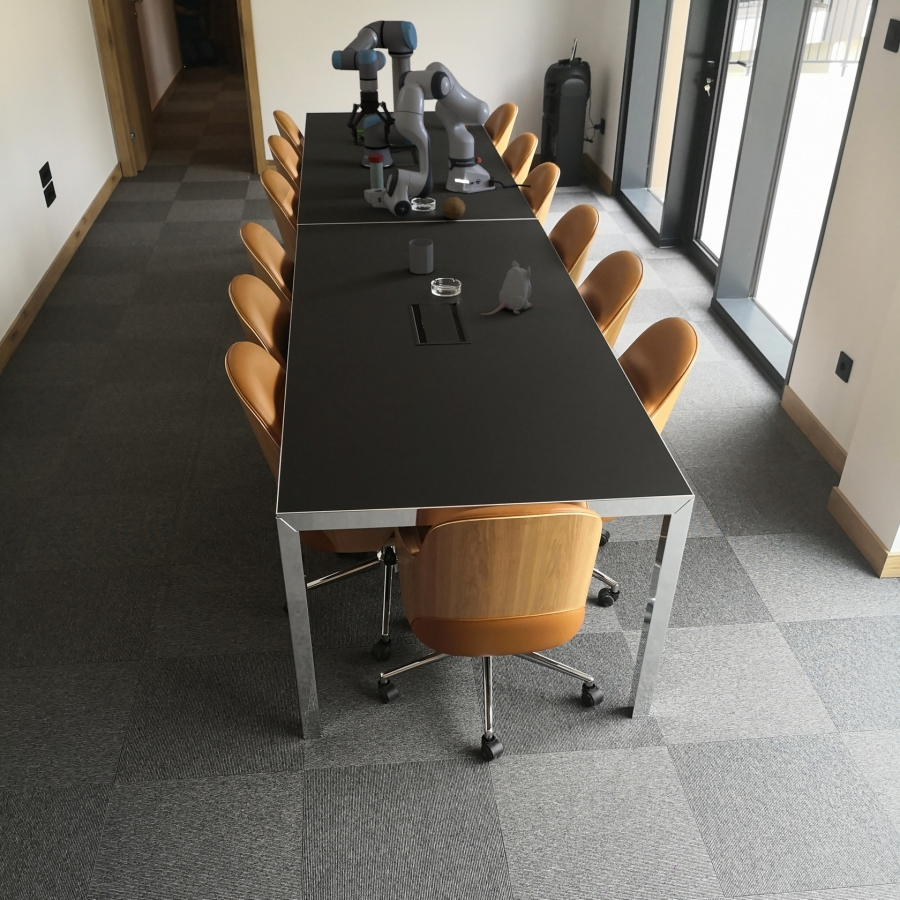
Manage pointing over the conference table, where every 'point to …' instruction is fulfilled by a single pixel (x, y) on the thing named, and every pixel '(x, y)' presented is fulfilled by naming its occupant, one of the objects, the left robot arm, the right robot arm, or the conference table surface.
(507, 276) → the toy
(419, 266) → the cup
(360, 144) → the scepter
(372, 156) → the lid
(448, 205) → the potato
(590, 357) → the conference table surface
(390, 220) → the conference table surface
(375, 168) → the jar
